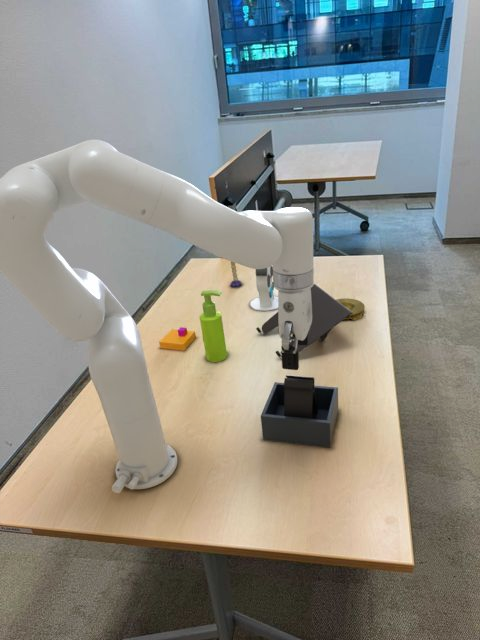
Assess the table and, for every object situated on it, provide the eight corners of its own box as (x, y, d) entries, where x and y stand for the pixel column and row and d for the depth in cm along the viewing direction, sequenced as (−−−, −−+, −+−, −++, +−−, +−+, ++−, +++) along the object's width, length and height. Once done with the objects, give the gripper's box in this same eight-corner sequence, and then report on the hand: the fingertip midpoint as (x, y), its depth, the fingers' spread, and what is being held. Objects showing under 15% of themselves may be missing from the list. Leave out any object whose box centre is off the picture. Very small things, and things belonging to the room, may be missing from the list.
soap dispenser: (227, 362, 132) (218, 296, 122) (203, 361, 133) (192, 296, 123) (232, 351, 137) (224, 287, 127) (209, 350, 138) (199, 287, 128)
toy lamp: (227, 287, 178) (221, 244, 169) (231, 282, 182) (226, 239, 173) (239, 287, 176) (234, 244, 168) (243, 282, 180) (238, 239, 172)
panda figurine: (281, 311, 156) (277, 268, 149) (247, 311, 158) (242, 269, 151) (285, 296, 166) (282, 255, 159) (253, 296, 168) (249, 256, 161)
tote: (330, 447, 99) (330, 423, 96) (263, 440, 103) (260, 416, 100) (338, 410, 110) (338, 387, 106) (276, 404, 114) (274, 382, 110)
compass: (324, 321, 148) (324, 314, 147) (327, 304, 158) (327, 298, 157) (364, 321, 146) (364, 315, 145) (364, 304, 156) (364, 298, 155)
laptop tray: (266, 343, 151) (251, 323, 146) (324, 299, 151) (311, 278, 146) (296, 380, 132) (280, 359, 127) (362, 330, 132) (349, 306, 127)
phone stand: (292, 408, 111) (289, 365, 105) (318, 411, 109) (316, 367, 103) (283, 433, 103) (280, 388, 97) (311, 437, 102) (309, 391, 96)
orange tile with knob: (184, 350, 139) (181, 338, 137) (160, 348, 142) (157, 335, 140) (196, 337, 146) (193, 325, 144) (173, 335, 148) (170, 323, 146)
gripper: (304, 297, 80) (305, 381, 89) (320, 261, 95) (320, 337, 103) (261, 295, 82) (267, 377, 91) (284, 260, 97) (286, 334, 105)
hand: (295, 356), depth 97 cm, fingers open, 9 cm apart
